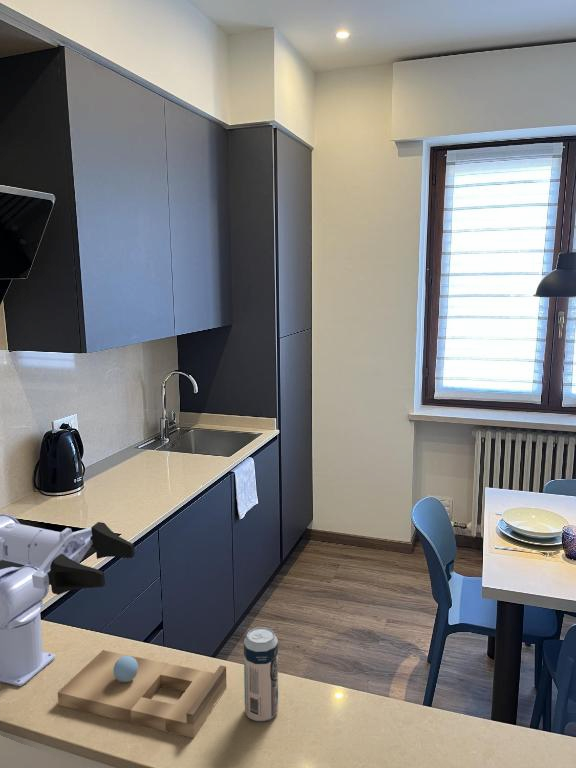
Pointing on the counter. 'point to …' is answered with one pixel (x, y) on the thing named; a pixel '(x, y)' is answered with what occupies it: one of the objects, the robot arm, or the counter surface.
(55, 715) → the counter surface
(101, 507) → the counter surface
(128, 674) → the ball
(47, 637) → the counter surface
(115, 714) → the board
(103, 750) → the counter surface
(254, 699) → the beer can
